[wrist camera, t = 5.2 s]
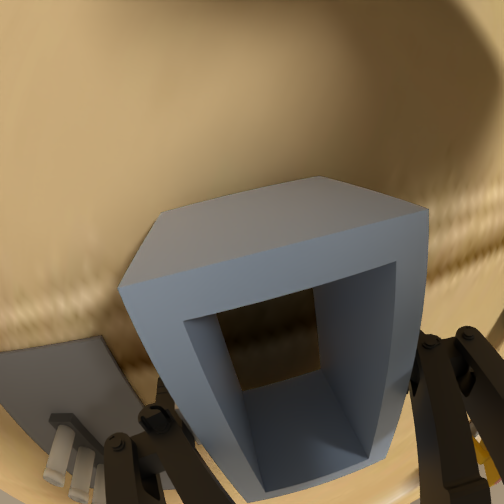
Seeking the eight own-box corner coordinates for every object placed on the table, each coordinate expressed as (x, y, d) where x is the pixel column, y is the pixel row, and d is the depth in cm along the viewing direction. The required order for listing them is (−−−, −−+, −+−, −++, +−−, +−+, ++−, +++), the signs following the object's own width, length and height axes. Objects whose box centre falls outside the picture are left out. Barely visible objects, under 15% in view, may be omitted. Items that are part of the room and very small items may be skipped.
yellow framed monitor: (477, 433, 40) (508, 472, 26) (452, 454, 41) (482, 496, 26) (488, 399, 33) (533, 448, 18) (458, 427, 33) (501, 481, 19)
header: (-31, 356, 14) (-64, 403, 8) (101, 335, 16) (70, 417, 9) (88, 486, 22) (83, 527, 16) (207, 483, 24) (213, 534, 17)
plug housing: (161, 212, 13) (117, 287, 6) (319, 175, 14) (428, 208, 7) (229, 405, 18) (247, 502, 11) (336, 374, 19) (385, 458, 12)
